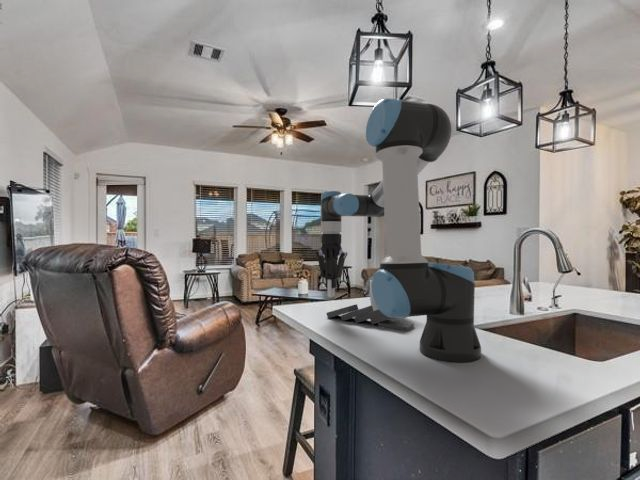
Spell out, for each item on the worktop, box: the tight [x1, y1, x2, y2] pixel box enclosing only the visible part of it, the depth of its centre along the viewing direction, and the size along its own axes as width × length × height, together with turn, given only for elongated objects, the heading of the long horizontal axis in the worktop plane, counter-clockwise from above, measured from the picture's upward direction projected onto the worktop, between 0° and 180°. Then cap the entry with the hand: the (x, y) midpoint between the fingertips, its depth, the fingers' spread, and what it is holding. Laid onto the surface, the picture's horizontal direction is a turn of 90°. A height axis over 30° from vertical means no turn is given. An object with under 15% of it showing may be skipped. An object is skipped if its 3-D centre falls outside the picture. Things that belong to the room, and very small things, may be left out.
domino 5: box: [377, 319, 415, 332], centre depth 121 cm, size 2×6×10 cm
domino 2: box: [340, 304, 374, 322], centre depth 129 cm, size 2×6×10 cm
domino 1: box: [326, 303, 360, 319], centre depth 133 cm, size 2×6×10 cm
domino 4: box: [369, 314, 392, 325], centre depth 123 cm, size 2×6×10 cm
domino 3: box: [354, 309, 383, 324], centre depth 126 cm, size 2×6×10 cm
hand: (331, 296), depth 136 cm, fingers closed
